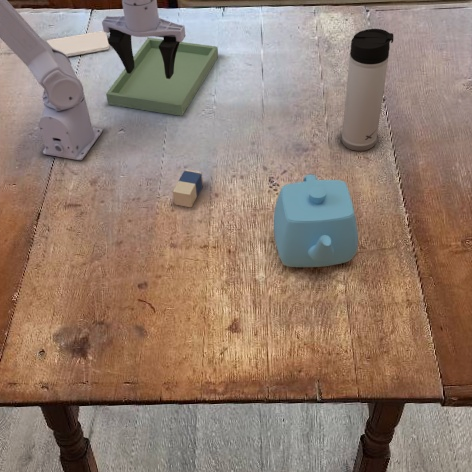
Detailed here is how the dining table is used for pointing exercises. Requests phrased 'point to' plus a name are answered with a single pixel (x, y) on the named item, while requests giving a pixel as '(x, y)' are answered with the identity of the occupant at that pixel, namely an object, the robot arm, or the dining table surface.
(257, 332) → the dining table surface
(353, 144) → the travel mug
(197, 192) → the eraser
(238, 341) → the dining table surface
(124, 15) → the robot arm
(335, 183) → the teapot
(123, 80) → the tray
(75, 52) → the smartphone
